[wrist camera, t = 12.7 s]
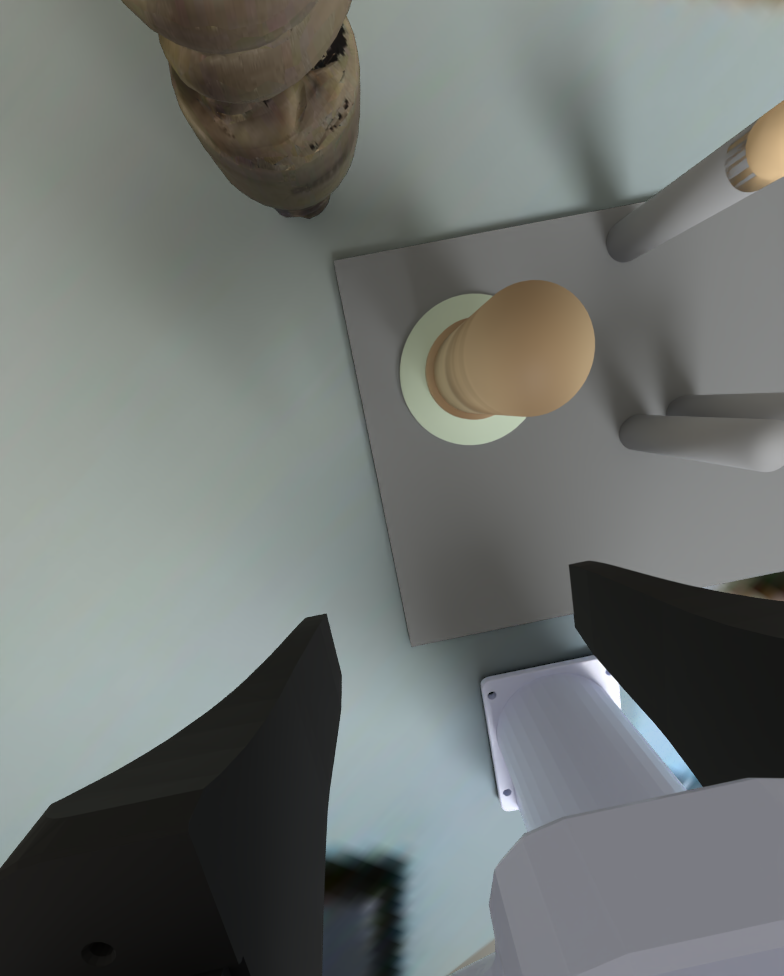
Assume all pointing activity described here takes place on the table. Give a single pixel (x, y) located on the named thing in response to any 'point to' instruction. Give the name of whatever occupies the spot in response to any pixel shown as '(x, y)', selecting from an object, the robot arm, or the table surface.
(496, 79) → the table surface
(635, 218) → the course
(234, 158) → the light bulb
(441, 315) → the pad
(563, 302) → the cylinder
